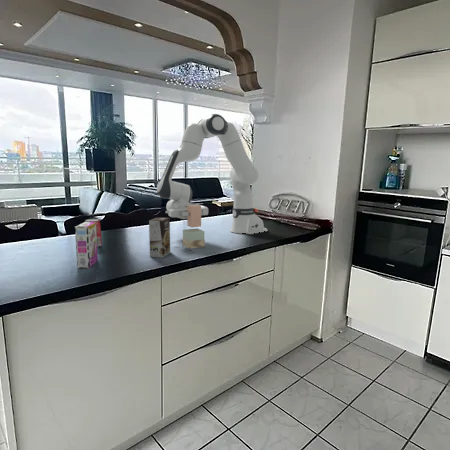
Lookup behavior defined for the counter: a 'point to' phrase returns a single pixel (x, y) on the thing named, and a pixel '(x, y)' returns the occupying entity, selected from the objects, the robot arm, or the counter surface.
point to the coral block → (194, 216)
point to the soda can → (97, 230)
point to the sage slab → (193, 234)
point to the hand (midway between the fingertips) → (195, 214)
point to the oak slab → (193, 243)
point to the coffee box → (159, 237)
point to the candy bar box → (86, 244)
